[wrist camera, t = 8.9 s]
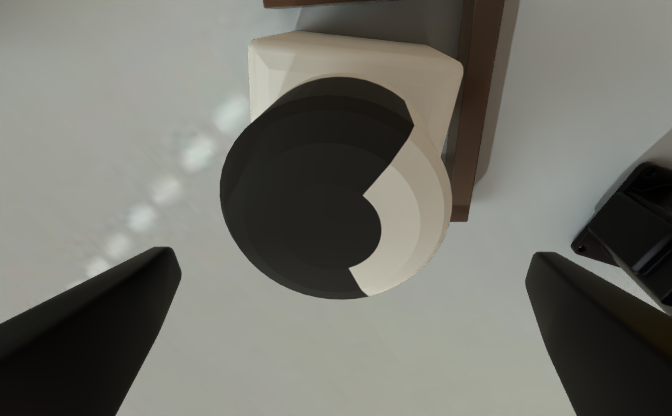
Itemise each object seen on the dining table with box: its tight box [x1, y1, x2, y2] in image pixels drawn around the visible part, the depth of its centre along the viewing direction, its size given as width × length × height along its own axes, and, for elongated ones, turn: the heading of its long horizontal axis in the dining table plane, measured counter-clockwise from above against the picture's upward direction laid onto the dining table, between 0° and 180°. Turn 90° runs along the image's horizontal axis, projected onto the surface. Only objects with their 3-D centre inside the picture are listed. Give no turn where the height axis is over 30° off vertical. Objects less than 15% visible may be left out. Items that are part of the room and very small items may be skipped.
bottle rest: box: [263, 0, 505, 222], centre depth 17 cm, size 10×12×2 cm
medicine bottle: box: [220, 31, 463, 299], centre depth 13 cm, size 7×7×12 cm
